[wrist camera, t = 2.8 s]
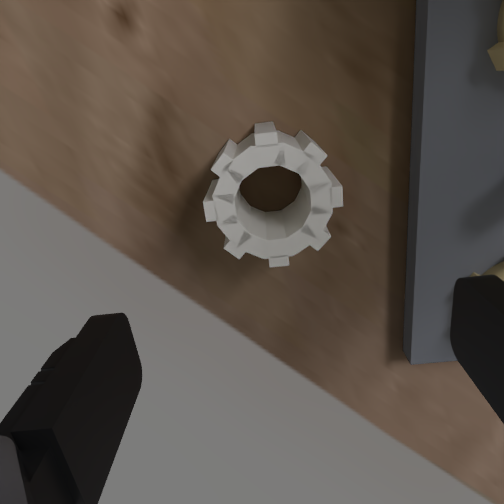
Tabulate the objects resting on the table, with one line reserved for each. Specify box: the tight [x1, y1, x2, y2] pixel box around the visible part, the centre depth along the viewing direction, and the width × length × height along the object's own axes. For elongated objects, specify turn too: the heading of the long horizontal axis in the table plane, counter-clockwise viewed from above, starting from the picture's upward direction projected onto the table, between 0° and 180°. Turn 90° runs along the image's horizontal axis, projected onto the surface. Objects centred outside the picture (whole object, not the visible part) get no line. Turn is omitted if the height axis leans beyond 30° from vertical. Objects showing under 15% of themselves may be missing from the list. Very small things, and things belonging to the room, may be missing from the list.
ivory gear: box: [203, 121, 343, 267], centre depth 21 cm, size 7×7×4 cm
